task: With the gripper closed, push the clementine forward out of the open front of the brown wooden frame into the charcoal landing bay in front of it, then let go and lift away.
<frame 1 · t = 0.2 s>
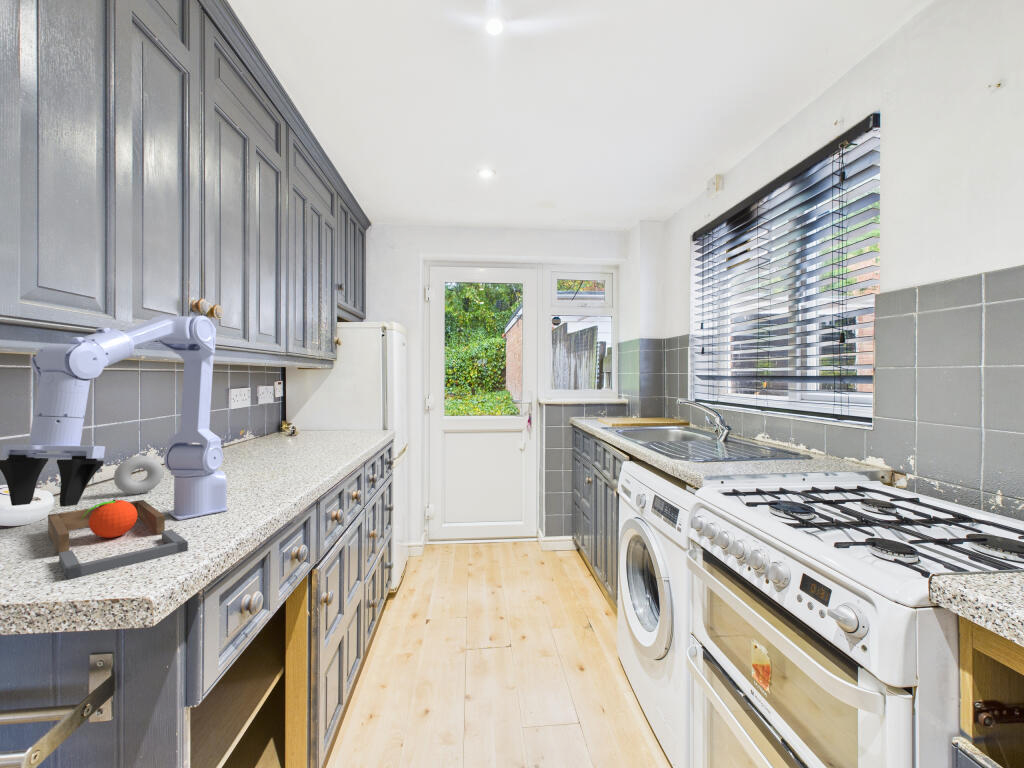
hand: (44, 505, 68), 10 cm above the counter, tool pointing down, fingers open, 7 cm apart
landing bay: (125, 555, 75), on the counter
donut: (139, 494, 115), on the counter
brown wooden frame: (106, 533, 85), on the counter
clementine: (110, 538, 83), on the counter
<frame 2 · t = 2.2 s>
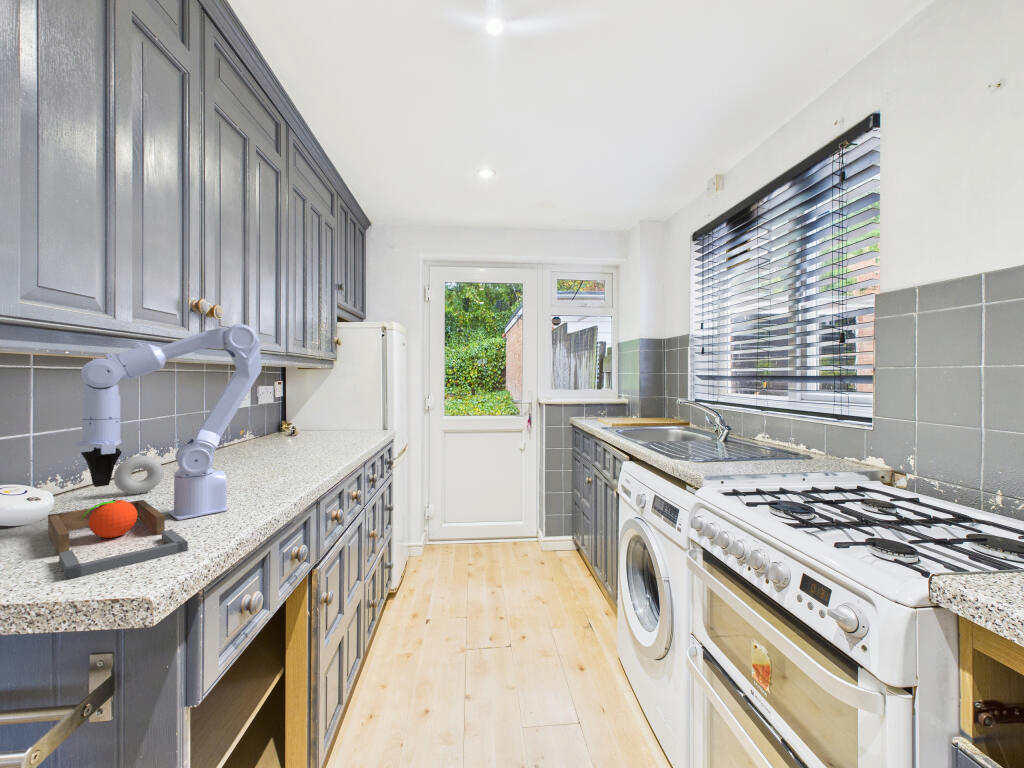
hand: (101, 485, 89), 8 cm above the counter, tool pointing down, fingers closed
nothing on the counter moved.
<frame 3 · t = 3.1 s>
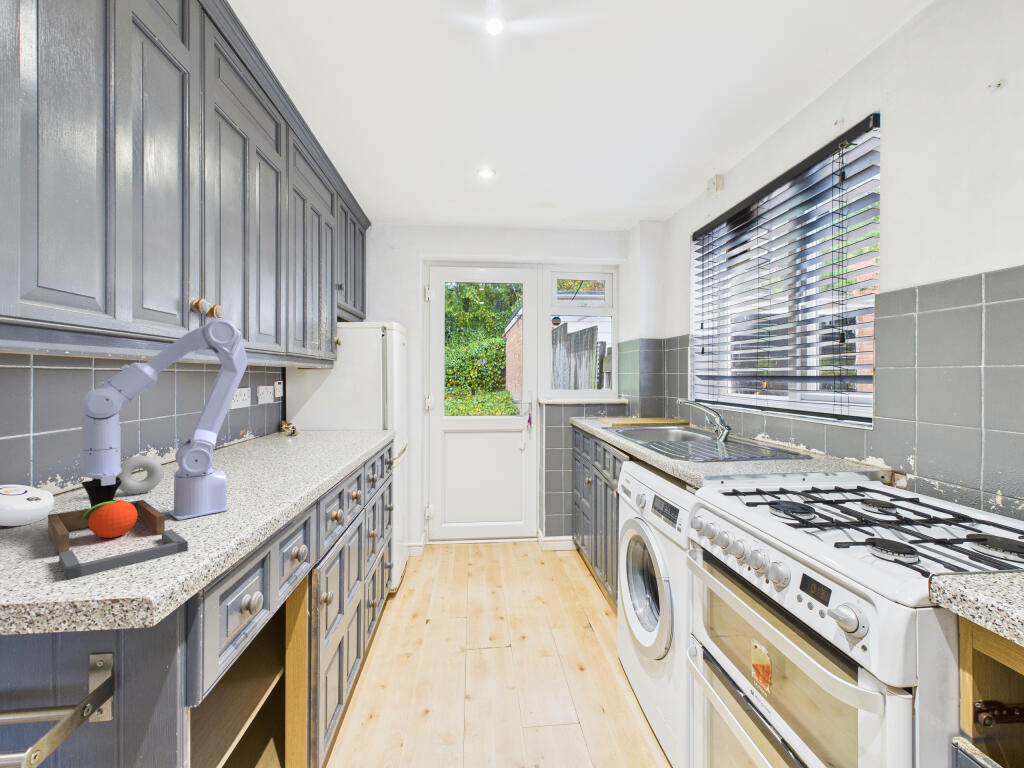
hand: (101, 515, 89), 2 cm above the counter, tool pointing down, fingers closed
nothing on the counter moved.
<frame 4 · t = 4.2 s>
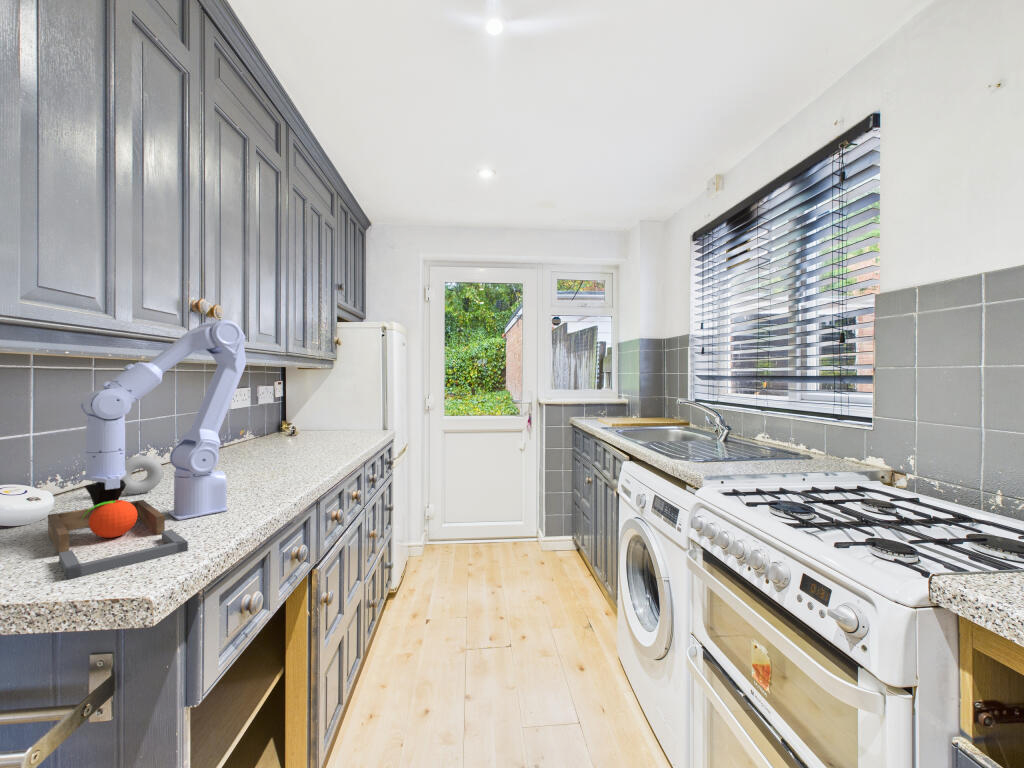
hand: (105, 519, 86), 2 cm above the counter, tool pointing down, fingers closed
clementine: (110, 538, 83), on the counter, touching gripper
everything else where it was.
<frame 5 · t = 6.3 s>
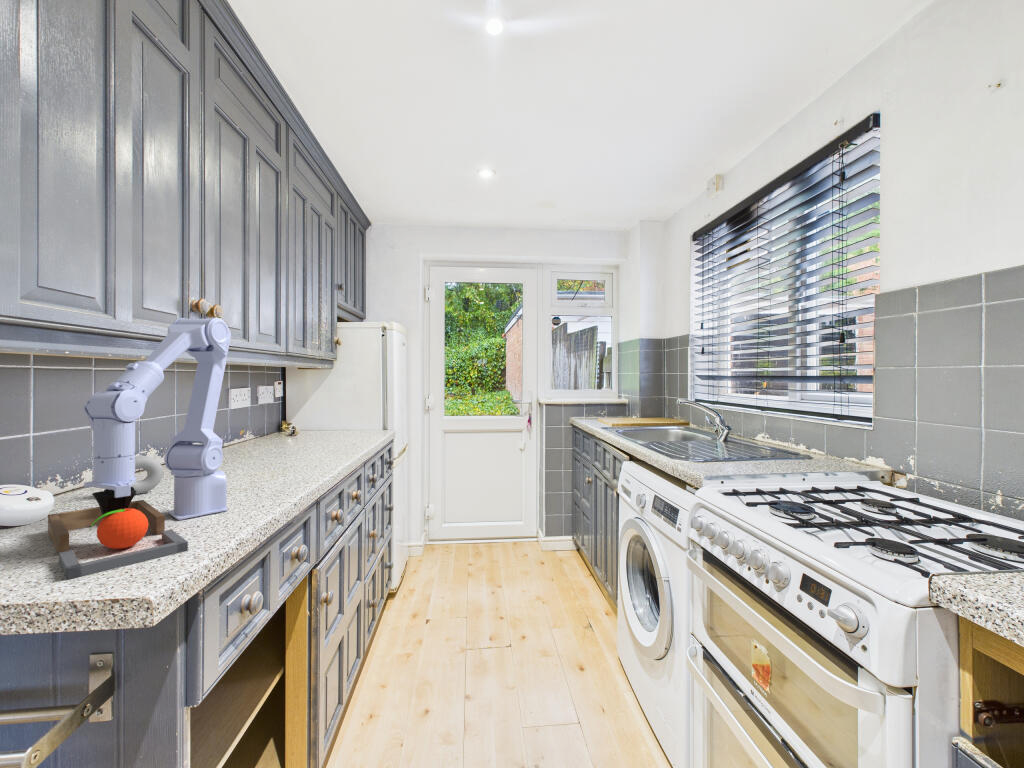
hand: (114, 529, 81), 2 cm above the counter, tool pointing down, fingers closed
clementine: (119, 549, 78), on the counter, touching gripper
everything else where it was.
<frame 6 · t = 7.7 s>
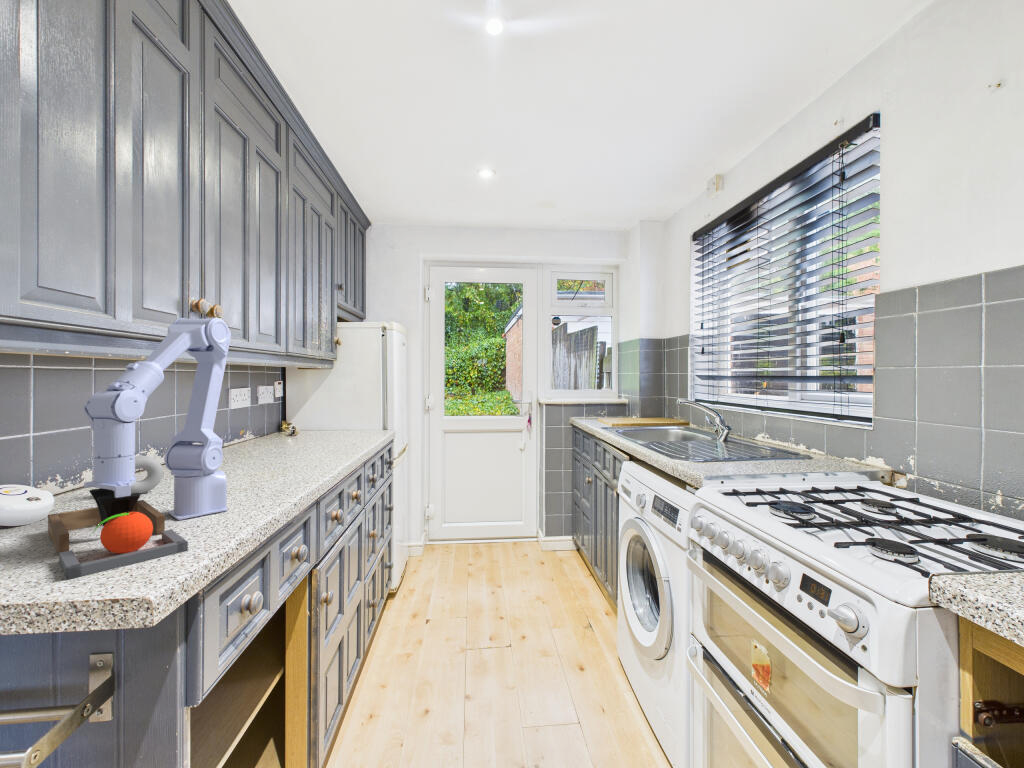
hand: (114, 529, 81), 2 cm above the counter, tool pointing down, fingers open, 6 cm apart
clementine: (123, 554, 76), on the counter, touching gripper
everything else where it was.
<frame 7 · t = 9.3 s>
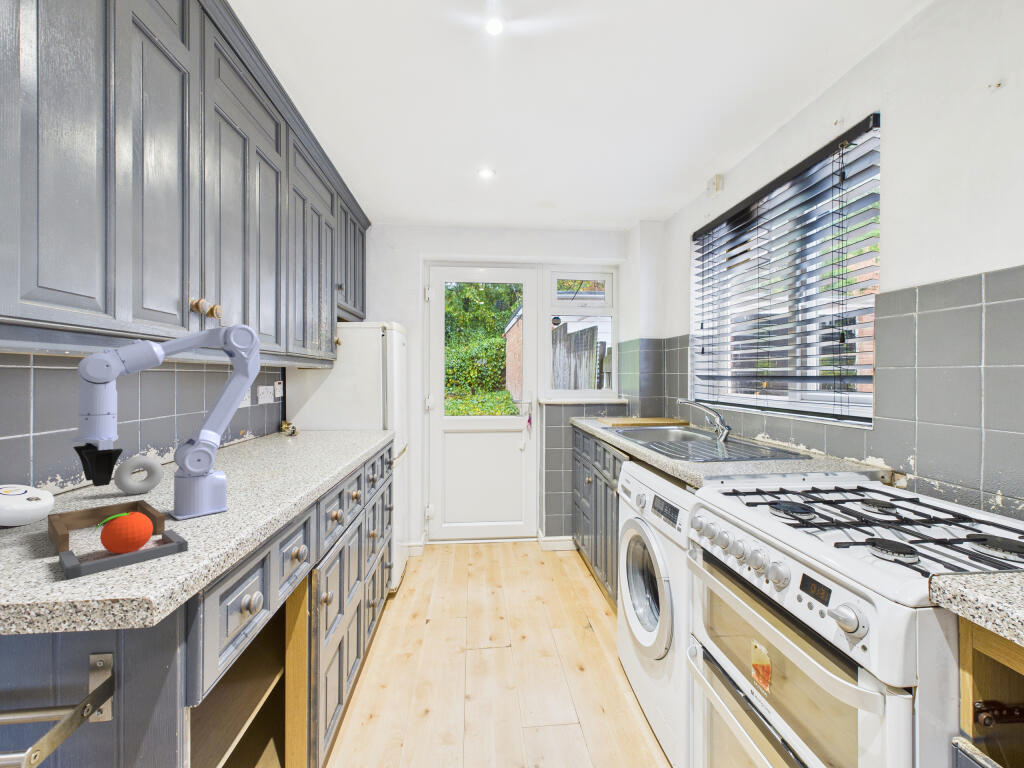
hand: (97, 482, 87), 9 cm above the counter, tool pointing down, fingers open, 7 cm apart
clementine: (123, 554, 76), on the counter
everything else where it was.
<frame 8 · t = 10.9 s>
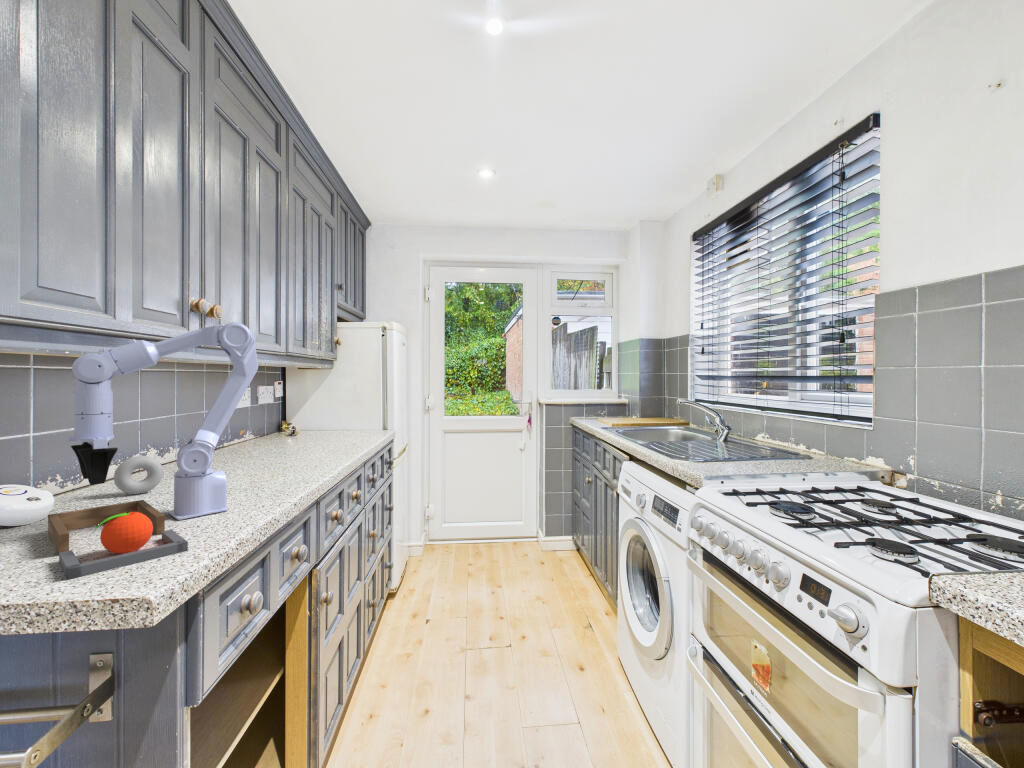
hand: (93, 480, 89), 9 cm above the counter, tool pointing down, fingers open, 7 cm apart
nothing on the counter moved.
at the end: clementine inside the target area (1.1 cm from its centre), on the counter; clementine moved 11.7 cm from its start; the gripper is holding nothing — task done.
